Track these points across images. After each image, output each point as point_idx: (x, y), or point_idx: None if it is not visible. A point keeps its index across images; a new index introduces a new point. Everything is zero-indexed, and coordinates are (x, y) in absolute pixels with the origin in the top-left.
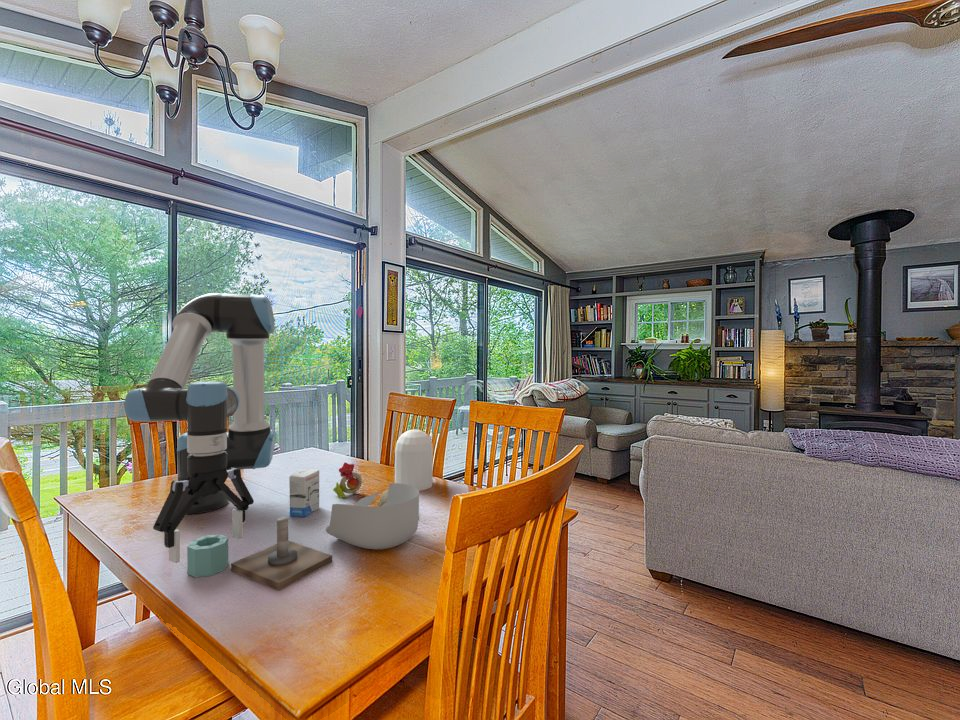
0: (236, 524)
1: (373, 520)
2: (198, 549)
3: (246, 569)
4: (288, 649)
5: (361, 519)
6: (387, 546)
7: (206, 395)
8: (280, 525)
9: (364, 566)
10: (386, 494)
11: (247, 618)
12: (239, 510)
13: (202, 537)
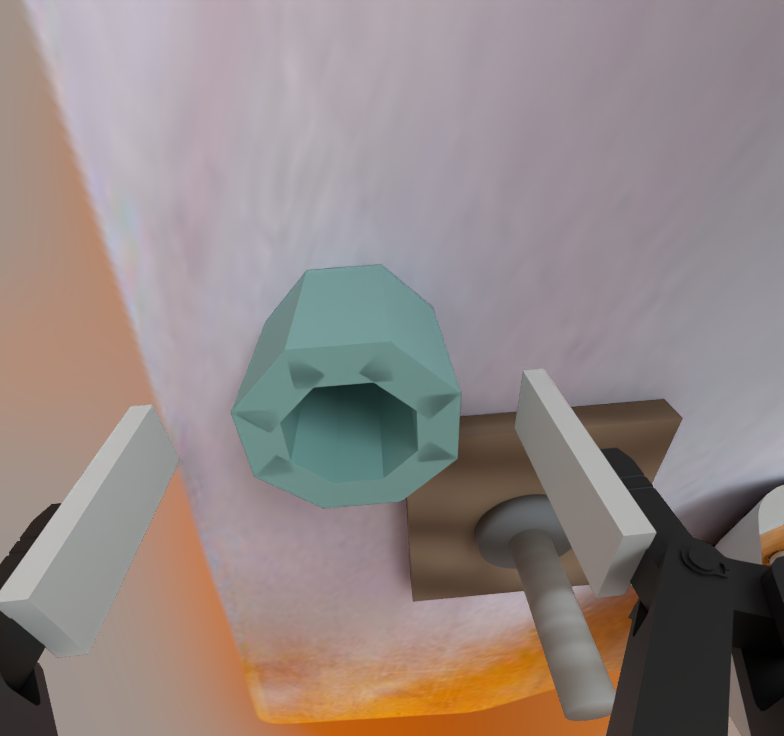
0: (552, 474)
1: (734, 723)
2: (269, 483)
3: (410, 508)
4: (307, 679)
5: (738, 711)
6: None
7: None
8: (558, 696)
9: (599, 609)
10: None
11: (300, 612)
12: (618, 584)
13: (358, 355)
